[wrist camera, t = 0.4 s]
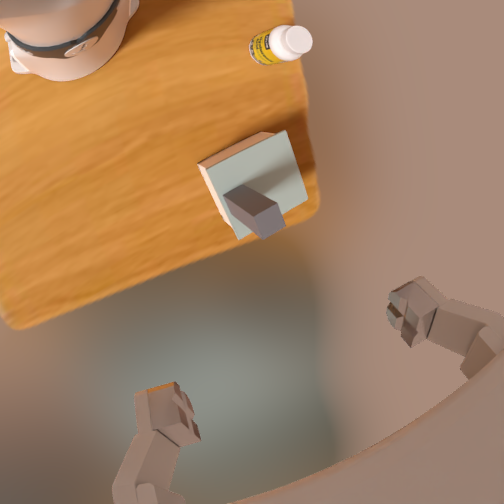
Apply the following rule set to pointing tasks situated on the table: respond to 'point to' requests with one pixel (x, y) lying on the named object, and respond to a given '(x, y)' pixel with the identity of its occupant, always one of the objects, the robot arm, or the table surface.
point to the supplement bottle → (280, 44)
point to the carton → (223, 155)
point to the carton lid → (259, 186)
